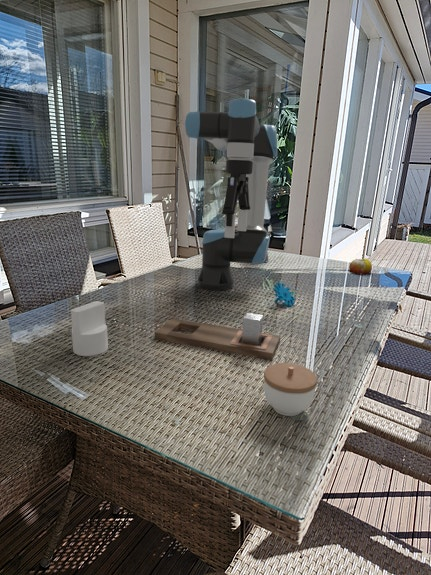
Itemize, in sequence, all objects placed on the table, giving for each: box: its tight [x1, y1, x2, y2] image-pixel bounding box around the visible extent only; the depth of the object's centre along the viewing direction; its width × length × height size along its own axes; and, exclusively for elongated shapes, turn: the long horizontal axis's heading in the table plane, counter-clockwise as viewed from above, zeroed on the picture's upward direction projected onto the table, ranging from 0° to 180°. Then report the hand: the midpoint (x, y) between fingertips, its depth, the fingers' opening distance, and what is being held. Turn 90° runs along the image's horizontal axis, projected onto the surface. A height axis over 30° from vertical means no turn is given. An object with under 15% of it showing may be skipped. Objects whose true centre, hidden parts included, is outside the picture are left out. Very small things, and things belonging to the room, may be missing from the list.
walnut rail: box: [154, 317, 281, 361], centre depth 115 cm, size 12×34×2 cm, turn 71°
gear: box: [273, 281, 296, 307], centre depth 148 cm, size 11×6×10 cm
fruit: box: [348, 258, 373, 275], centre depth 198 cm, size 11×10×8 cm
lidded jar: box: [263, 362, 318, 417], centre depth 83 cm, size 11×11×9 cm
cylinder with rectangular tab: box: [70, 300, 109, 357], centre depth 106 cm, size 9×9×12 cm
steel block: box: [242, 312, 264, 347], centre depth 111 cm, size 4×4×9 cm
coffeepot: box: [264, 230, 275, 263], centre depth 211 cm, size 15×9×18 cm, turn 125°
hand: (235, 234), depth 119 cm, fingers open, 13 cm apart
